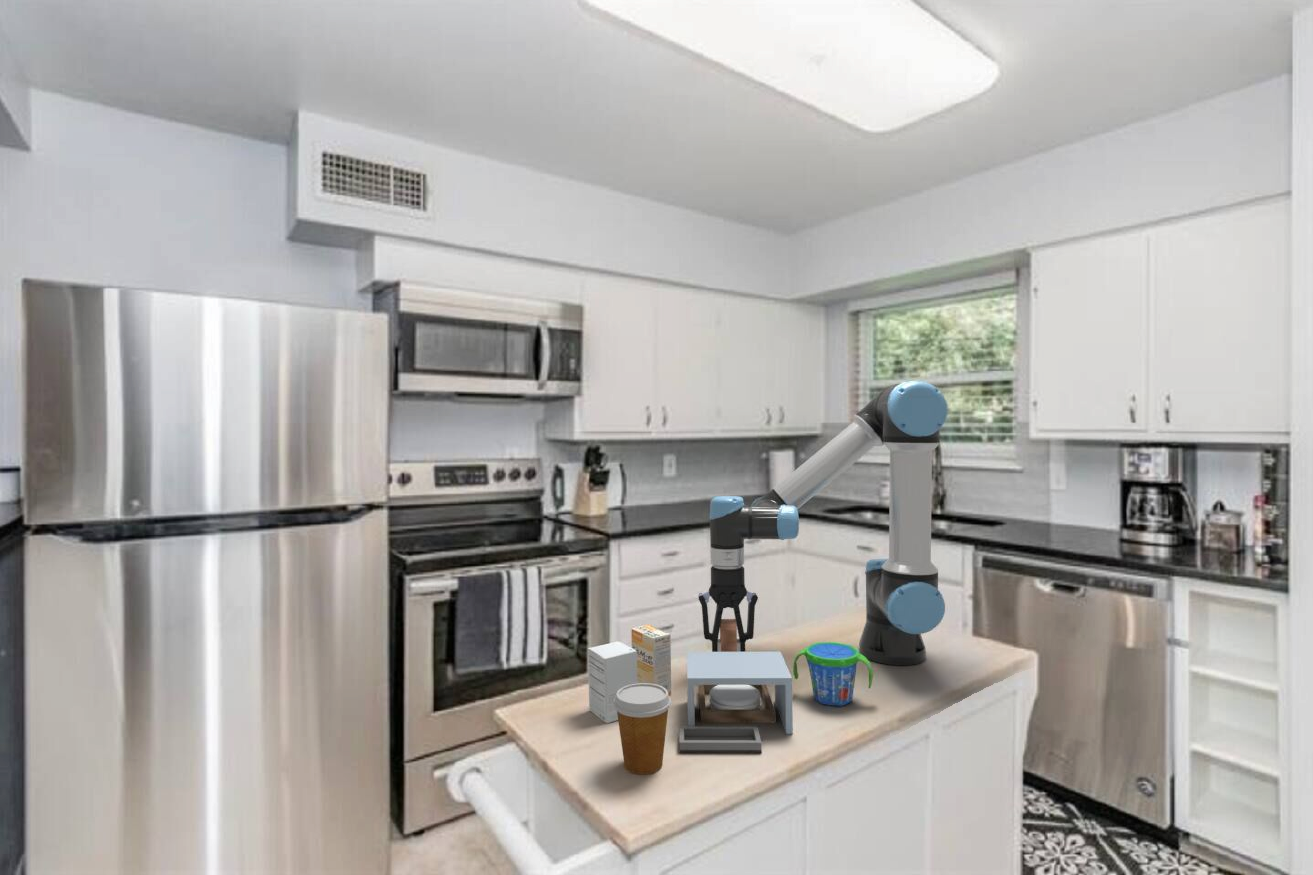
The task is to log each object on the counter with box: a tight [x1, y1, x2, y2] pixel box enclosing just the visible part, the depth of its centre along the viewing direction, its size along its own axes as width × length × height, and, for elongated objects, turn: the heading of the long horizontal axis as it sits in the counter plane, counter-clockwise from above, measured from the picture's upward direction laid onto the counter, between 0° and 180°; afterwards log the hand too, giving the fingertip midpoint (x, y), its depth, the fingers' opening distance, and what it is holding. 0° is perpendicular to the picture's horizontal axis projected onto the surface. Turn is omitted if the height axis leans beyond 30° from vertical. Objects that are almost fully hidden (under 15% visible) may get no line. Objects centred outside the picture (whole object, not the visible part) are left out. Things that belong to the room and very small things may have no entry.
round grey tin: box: [708, 685, 762, 710], centre depth 132 cm, size 10×10×4 cm
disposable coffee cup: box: [614, 683, 672, 775], centre depth 110 cm, size 10×10×12 cm
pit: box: [678, 726, 763, 754], centre depth 117 cm, size 14×6×2 cm, turn 88°
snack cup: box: [792, 641, 874, 707], centre depth 135 cm, size 16×10×10 cm
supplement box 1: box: [587, 641, 638, 724], centre depth 131 cm, size 7×7×13 cm
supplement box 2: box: [630, 624, 672, 696], centre depth 140 cm, size 8×5×13 cm, turn 37°
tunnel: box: [686, 651, 794, 735], centre depth 128 cm, size 19×14×10 cm
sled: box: [698, 618, 776, 723], centre depth 138 cm, size 14×26×12 cm, turn 178°
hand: (728, 669), depth 150 cm, fingers closed on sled, 4 cm apart
